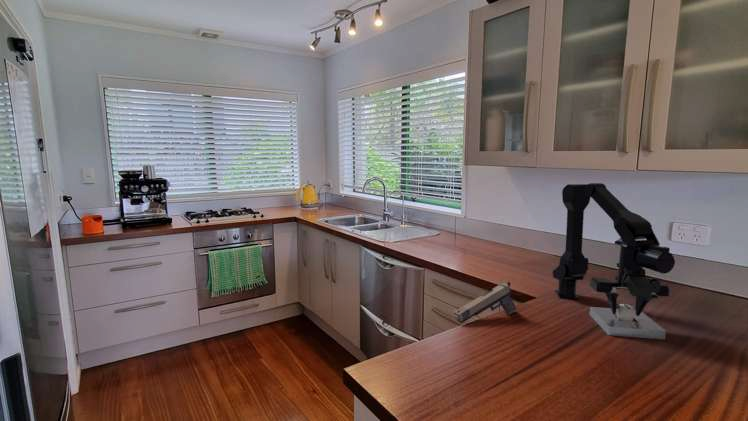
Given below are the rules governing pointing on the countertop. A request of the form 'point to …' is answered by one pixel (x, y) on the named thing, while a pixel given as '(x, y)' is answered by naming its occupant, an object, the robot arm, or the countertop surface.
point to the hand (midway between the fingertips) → (625, 314)
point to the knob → (625, 313)
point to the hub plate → (627, 324)
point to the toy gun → (488, 303)
